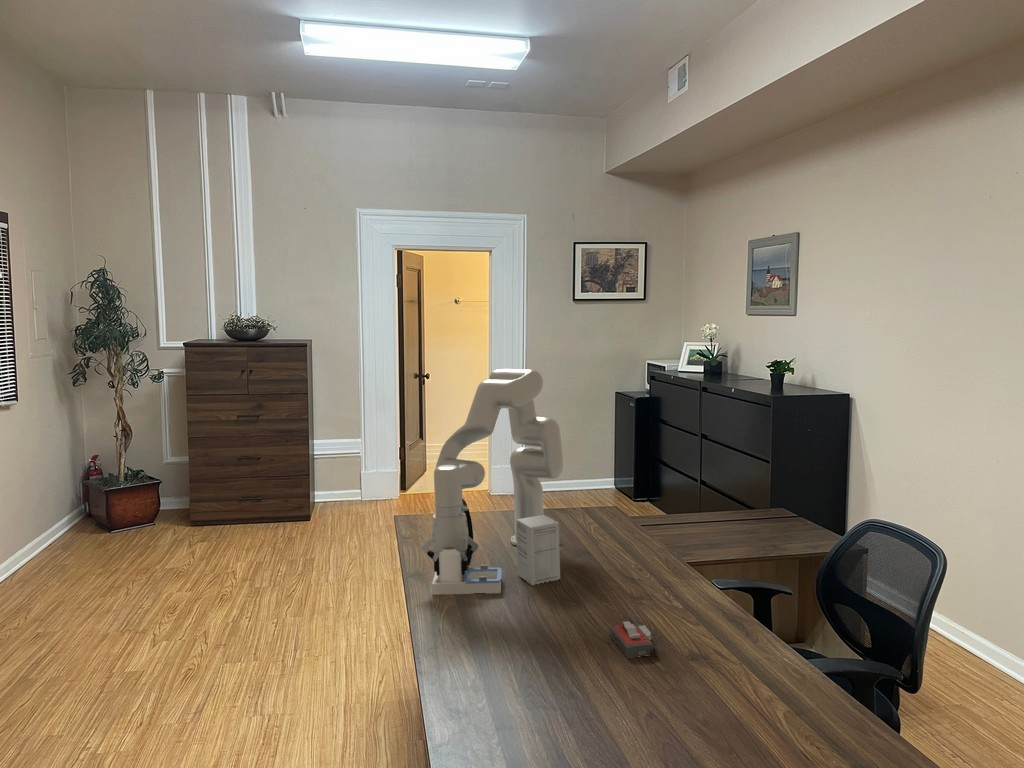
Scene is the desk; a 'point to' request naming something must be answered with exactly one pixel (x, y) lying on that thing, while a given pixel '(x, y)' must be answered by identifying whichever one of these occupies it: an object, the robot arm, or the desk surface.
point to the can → (450, 566)
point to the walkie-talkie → (633, 638)
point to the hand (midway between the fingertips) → (451, 572)
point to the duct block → (471, 582)
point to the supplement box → (538, 549)
